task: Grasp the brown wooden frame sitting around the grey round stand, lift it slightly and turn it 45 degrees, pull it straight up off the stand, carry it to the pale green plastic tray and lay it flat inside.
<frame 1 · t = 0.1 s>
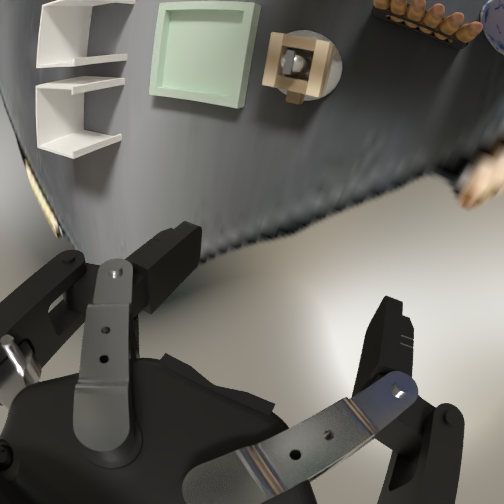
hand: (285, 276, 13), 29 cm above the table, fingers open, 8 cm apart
tray: (203, 50, 36), on the table
grey round stand: (305, 65, 33), on the table
ammunition clip: (418, 25, 25), on the table
storage container: (105, 68, 43), on the table
brown wooden frame: (303, 64, 33), point 1 cm above the table, touching grey round stand
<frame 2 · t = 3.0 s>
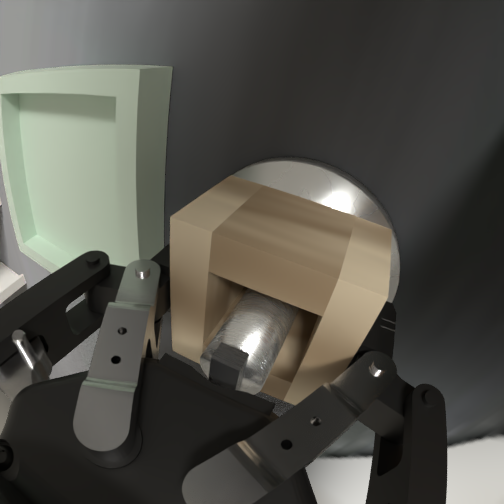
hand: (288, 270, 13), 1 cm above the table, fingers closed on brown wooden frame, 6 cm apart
tray: (75, 179, 17), on the table
grey round stand: (296, 258, 14), on the table
brown wooden frame: (290, 268, 13), point 1 cm above the table, touching gripper, grey round stand
when the fingers open (2 cm above the table, at t = 10.5 s): brown wooden frame drops 1 cm, resting on tray.
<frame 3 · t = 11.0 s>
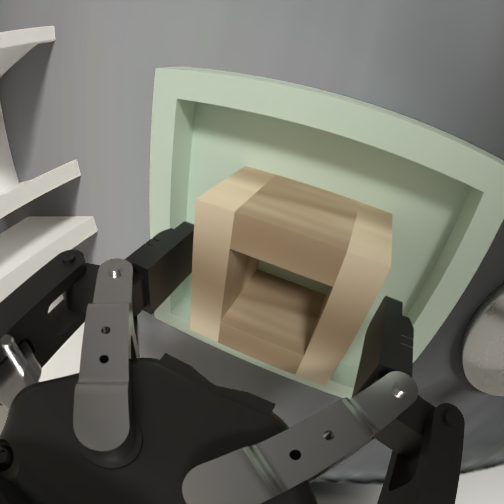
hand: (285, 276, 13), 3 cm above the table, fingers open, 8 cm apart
tray: (302, 246, 15), on the table
storage container: (52, 197, 22), on the table
brown wooden frame: (300, 251, 14), point 1 cm above the table, touching tray
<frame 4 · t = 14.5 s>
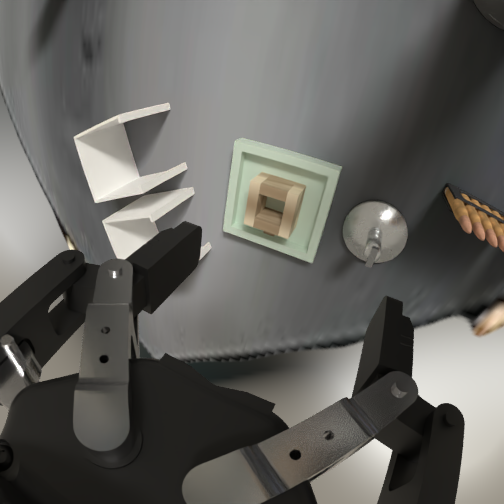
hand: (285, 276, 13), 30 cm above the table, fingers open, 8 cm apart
tray: (280, 198, 45), on the table
grey round stand: (375, 231, 41), on the table
ammunition clip: (476, 204, 34), on the table
storage container: (165, 182, 52), on the table
brown wooden frame: (279, 199, 44), point 1 cm above the table, touching tray
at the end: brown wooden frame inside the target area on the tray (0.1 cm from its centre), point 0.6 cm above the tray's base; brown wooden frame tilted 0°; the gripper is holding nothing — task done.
